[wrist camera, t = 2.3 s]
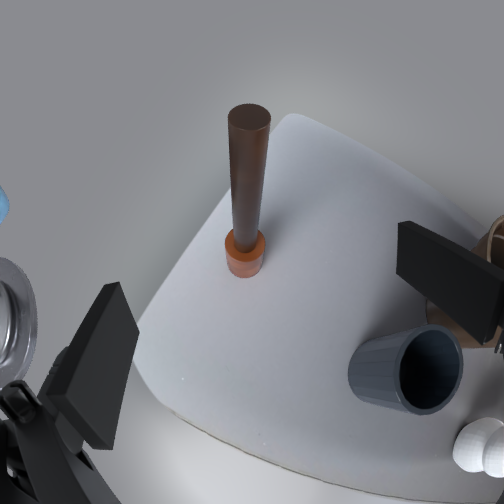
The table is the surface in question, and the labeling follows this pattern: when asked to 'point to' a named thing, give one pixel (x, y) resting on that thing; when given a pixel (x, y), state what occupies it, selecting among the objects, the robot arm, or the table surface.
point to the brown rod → (247, 187)
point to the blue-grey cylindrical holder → (408, 370)
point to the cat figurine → (481, 447)
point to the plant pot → (496, 252)
